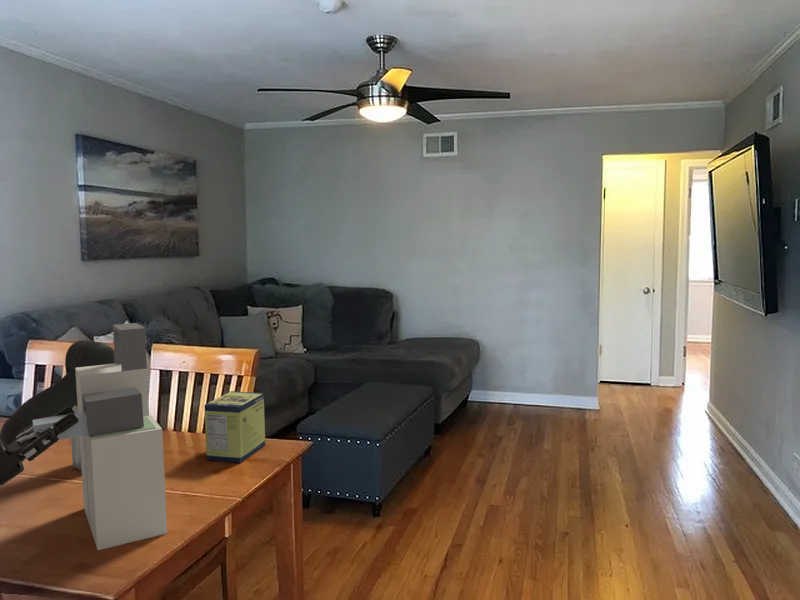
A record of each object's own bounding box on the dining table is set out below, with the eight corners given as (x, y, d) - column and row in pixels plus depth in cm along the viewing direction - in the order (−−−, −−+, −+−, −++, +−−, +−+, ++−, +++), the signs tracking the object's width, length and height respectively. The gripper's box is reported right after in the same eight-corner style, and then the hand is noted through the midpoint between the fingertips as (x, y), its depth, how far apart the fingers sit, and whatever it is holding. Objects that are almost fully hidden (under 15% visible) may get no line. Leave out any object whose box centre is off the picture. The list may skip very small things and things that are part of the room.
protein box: (266, 444, 186) (264, 392, 185) (241, 463, 171) (239, 406, 169) (233, 442, 189) (231, 390, 187) (205, 461, 173) (203, 404, 172)
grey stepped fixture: (97, 550, 125) (85, 342, 120) (83, 508, 144) (72, 327, 139) (167, 533, 132) (157, 336, 127) (145, 495, 151) (136, 322, 146)
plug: (35, 446, 120) (32, 410, 119) (33, 436, 125) (30, 402, 124) (143, 426, 130) (141, 393, 129) (137, 418, 135) (135, 386, 134)
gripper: (0, 473, 126) (81, 418, 133) (1, 498, 114) (90, 437, 121) (-25, 444, 123) (59, 390, 130) (-27, 467, 111) (66, 406, 118)
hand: (73, 413), depth 126 cm, fingers open, 5 cm apart
